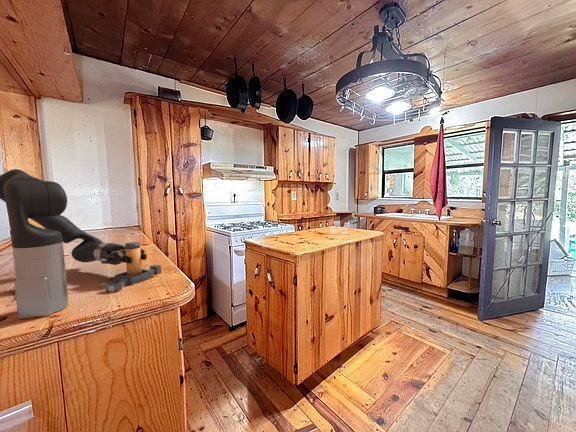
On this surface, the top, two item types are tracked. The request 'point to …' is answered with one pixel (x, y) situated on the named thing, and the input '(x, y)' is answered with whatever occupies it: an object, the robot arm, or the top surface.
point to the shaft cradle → (131, 278)
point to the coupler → (133, 258)
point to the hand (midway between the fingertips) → (138, 258)
